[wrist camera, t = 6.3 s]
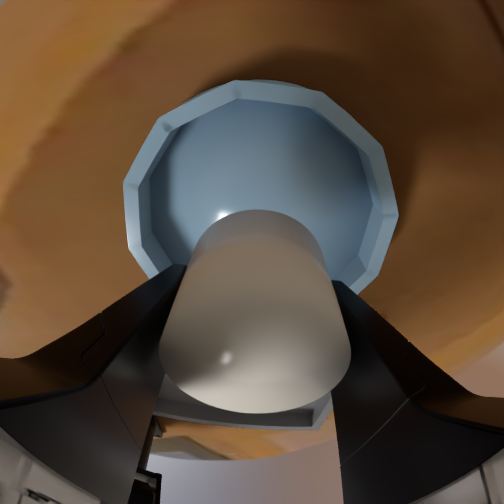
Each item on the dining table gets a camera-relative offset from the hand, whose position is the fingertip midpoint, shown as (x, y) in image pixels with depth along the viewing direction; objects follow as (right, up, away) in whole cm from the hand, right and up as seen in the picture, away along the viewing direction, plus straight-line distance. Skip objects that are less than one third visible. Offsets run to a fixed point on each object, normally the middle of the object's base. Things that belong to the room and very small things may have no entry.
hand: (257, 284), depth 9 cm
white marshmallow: (0, 0, +1) cm, 1 cm away
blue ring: (0, +3, +5) cm, 6 cm away
